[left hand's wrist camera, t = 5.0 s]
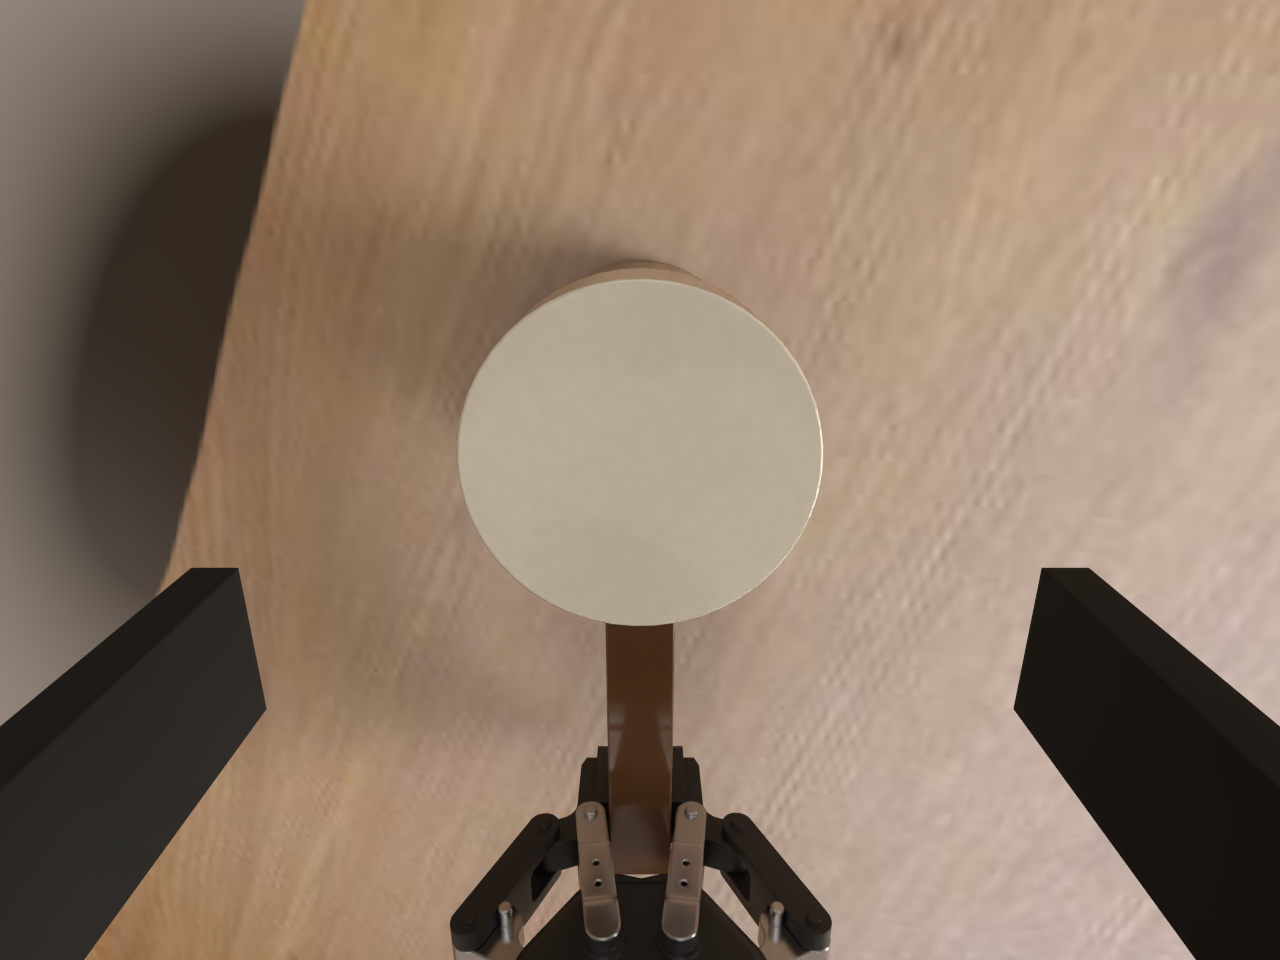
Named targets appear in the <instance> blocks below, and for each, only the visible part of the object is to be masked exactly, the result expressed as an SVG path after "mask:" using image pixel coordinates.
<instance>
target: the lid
mask: <svg viewBox="0 0 1280 960" xmlns="http://www.w3.org/2000/svg"><path fill="white" fill-rule="evenodd" d="M822 466H823V439H822V427H821V422H820V418H819V414H818V409H817V405H816V402H815V399H814V397H813V394H812V391H811V389H810V386H809V384H808V381H807V379H806V378H805V376H804V374H803V372H802V370H801V369H800V367H799V365H798V363H797V361H796V360H795V359H794V357H793V356H792V355H791V353H790V352H789V351H788V349H787V348H786V347H785V345H784V344H783V343H782V341H781V340H780V339H779V338H778V337H777V336H776V335H775V334H774V333H773V332H772V331H771V330H770V329H769V328H768V327H767V326H766V325H765V324H764V323H763V322H762V321H761V320H760V319H759V318H758V317H757V316H756V315H755V314H754V313H753V312H752V311H751V310H750V309H749V308H748V307H747V306H745V305H744V304H743V303H741V302H740V301H739V300H737V299H736V298H735V297H733V296H732V295H730V294H729V293H727V292H725V291H723V290H721V289H720V288H718V287H716V286H714V285H713V284H710V283H708V282H705V281H703V280H700V279H697V278H695V277H692V276H689V275H685V274H681V273H677V272H673V271H668V270H659V269H649V268H636V269H620V270H614V271H608V272H602V273H598V274H595V275H592V276H588V277H585V278H582V279H579V280H577V281H575V282H572V283H570V284H568V285H566V286H564V287H562V288H560V289H558V290H556V291H555V292H553V293H552V294H550V295H549V296H547V297H545V298H544V299H542V300H541V301H539V302H538V303H537V304H536V305H535V306H534V307H532V308H531V309H530V310H529V311H528V312H527V313H525V314H524V315H523V316H522V317H521V318H520V319H519V320H518V321H517V322H516V323H515V324H514V325H513V326H512V328H511V329H510V330H509V331H508V332H507V333H506V334H505V335H504V336H503V337H502V338H501V340H500V341H499V342H498V343H497V344H496V345H495V346H494V348H493V349H492V350H491V351H490V353H489V354H488V356H487V357H486V359H485V360H484V362H483V363H482V365H481V367H480V368H479V370H478V371H477V373H476V376H475V378H474V380H473V382H472V384H471V386H470V388H469V390H468V393H467V396H466V399H465V403H464V406H463V409H462V412H461V416H460V423H459V429H458V435H457V467H458V475H459V483H460V487H461V491H462V495H463V498H464V502H465V505H466V508H467V510H468V513H469V515H470V518H471V520H472V523H473V525H474V527H475V528H476V530H477V532H478V534H479V535H480V537H481V539H482V541H483V542H484V544H485V546H486V547H487V548H488V550H489V551H490V552H491V554H492V555H493V556H494V557H495V559H496V560H497V561H498V563H499V564H500V565H501V566H502V567H503V568H504V569H505V570H506V571H507V572H508V573H509V574H510V575H511V576H512V577H513V578H514V579H515V580H517V581H518V582H519V583H520V584H522V585H523V586H524V587H525V588H527V589H528V590H529V591H530V592H532V593H533V594H535V595H537V596H538V597H540V598H542V599H543V600H545V601H546V602H548V603H550V604H552V605H554V606H556V607H558V608H560V609H563V610H565V611H567V612H569V613H572V614H575V615H578V616H581V617H584V618H587V619H590V620H595V621H600V622H605V623H610V624H617V625H629V626H651V625H662V624H669V623H676V622H681V621H685V620H689V619H692V618H696V617H700V616H702V615H705V614H707V613H710V612H713V611H715V610H718V609H720V608H722V607H724V606H726V605H728V604H730V603H731V602H733V601H735V600H737V599H739V598H740V597H742V596H743V595H745V594H746V593H748V592H749V591H750V590H752V589H753V588H755V587H756V586H758V585H759V584H760V583H761V582H762V581H763V580H764V579H765V578H766V577H768V576H769V575H770V574H771V573H772V572H773V571H774V570H775V569H776V568H777V567H778V566H779V564H780V563H781V562H782V561H783V560H784V559H785V557H786V556H787V555H788V554H789V552H790V551H791V549H792V548H793V546H794V545H795V543H796V542H797V540H798V539H799V537H800V536H801V534H802V532H803V530H804V528H805V526H806V524H807V522H808V520H809V518H810V516H811V513H812V510H813V507H814V504H815V501H816V498H817V495H818V491H819V486H820V481H821V476H822Z"/></svg>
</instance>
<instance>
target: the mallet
mask: <svg viewBox="0 0 1280 960" xmlns="http://www.w3.org/2000/svg"><path fill="white" fill-rule="evenodd" d="M636 268H649V269H659V270H668V271H673V272H677V273H681V274H685V275H689V276H692V277H695V278H697V279H699V278H698V277H696V276H694V275H692V274H690V273H689V272H687V271H685V270H683V269H680V268H677V267H674V266H671V265H668V264H663V263H658V262H650V261H630V262H622V263H617V264H612V265H609V266H606V267H603V268H600V269H597V270H595V271H593V272H591V273H589V274H588V275H586V276H584V277H582V278H585V277H588V276H592V275H595V274H598V273H602V272H608V271H614V270H620V269H636ZM582 278H581V279H582ZM700 280H701V279H700ZM674 632H675V623H669V624H662V625H651V626H629V625H617V624H610V623H606V672H607V726H608V780H609V834H610V844H611V852H612V860H613V868H614V874H668V870H669V862H670V854H671V808H672V749H673V691H674Z"/></svg>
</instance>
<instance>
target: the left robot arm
mask: <svg viewBox="0 0 1280 960" xmlns="http://www.w3.org/2000/svg"><path fill="white" fill-rule="evenodd" d="M265 710H266V704H265V699H264V694H263V689H262V684H261V679H260V674H259V669H258V664H257V659H256V654H255V649H254V644H253V639H252V634H251V629H250V624H249V619H248V614H247V609H246V604H245V599H244V594H243V589H242V584H241V579H240V574H239V569H238V568H191V569H189V570H188V571H187V572H186V573H185V574H183V575H182V576H181V577H180V578H179V579H177V580H176V581H175V582H174V583H172V584H171V585H170V586H169V587H168V588H166V589H165V590H164V591H163V592H162V593H160V594H159V595H158V596H157V597H156V598H154V599H153V600H152V601H151V602H150V603H148V604H147V605H146V606H145V607H144V608H142V609H141V610H140V611H139V612H138V613H136V614H135V615H134V616H133V617H132V618H130V619H129V620H128V621H127V622H126V623H124V624H123V625H122V626H121V627H119V628H118V629H117V630H116V631H115V632H113V633H112V634H111V635H110V636H109V637H107V638H106V639H105V640H104V641H103V642H101V643H100V644H99V645H98V646H97V647H95V648H94V649H93V650H92V651H91V652H89V653H88V654H87V655H86V656H85V657H83V658H82V659H81V660H80V661H79V662H77V663H76V664H75V665H74V666H73V667H71V668H70V669H69V670H68V671H67V672H65V673H64V674H63V675H62V676H60V677H59V678H58V679H57V680H56V681H54V682H53V683H52V684H51V685H50V686H48V687H47V688H46V689H45V690H44V691H42V692H41V693H40V694H39V695H38V696H36V697H35V698H34V699H33V700H32V701H30V702H29V703H28V704H27V705H26V706H24V707H23V708H22V709H21V710H20V711H18V712H17V713H16V714H15V715H14V716H12V717H11V718H10V719H9V720H8V721H6V722H5V723H4V724H3V725H1V726H0V960H84V959H85V958H86V956H87V955H88V954H89V952H90V951H91V949H92V948H93V947H94V945H95V944H96V943H97V941H98V940H99V938H100V937H101V936H102V934H103V933H104V932H105V930H106V929H107V927H108V926H109V925H110V923H111V922H112V921H113V919H114V918H115V916H116V915H117V914H118V912H119V911H120V910H121V908H122V907H123V905H124V904H125V903H126V901H127V900H128V899H129V897H130V896H131V894H132V893H133V892H134V890H135V889H136V888H137V886H138V885H139V883H140V882H141V881H142V879H143V878H144V877H145V875H146V874H147V872H148V871H149V870H150V868H151V867H152V866H153V864H154V863H155V861H156V860H157V859H158V857H159V856H160V855H161V853H162V852H163V850H164V849H165V848H166V846H167V845H168V844H169V842H170V841H171V839H172V838H173V837H174V835H175V834H176V833H177V831H178V830H179V828H180V827H181V826H182V824H183V823H184V822H185V820H186V819H187V817H188V816H189V815H190V813H191V812H192V811H193V809H194V808H195V806H196V805H197V804H198V802H199V801H200V800H201V798H202V797H203V795H204V794H205V793H206V791H207V790H208V789H209V787H210V786H211V784H212V783H213V782H214V780H215V779H216V778H217V776H218V775H219V773H220V772H221V771H222V769H223V768H224V767H225V765H226V764H227V762H228V761H229V760H230V758H231V757H232V756H233V754H234V753H235V751H236V750H237V749H238V747H239V746H240V745H241V743H242V742H243V740H244V739H245V738H246V736H247V735H248V734H249V732H250V731H251V730H252V728H253V727H254V725H255V724H256V723H257V721H258V720H259V719H260V717H261V716H262V714H263V713H264V712H265ZM1014 710H1015V712H1016V713H1017V714H1018V716H1019V717H1020V719H1021V720H1022V721H1023V723H1024V724H1025V725H1026V727H1027V728H1028V730H1029V731H1030V732H1031V734H1032V735H1033V736H1034V738H1035V739H1036V741H1037V742H1038V743H1039V745H1040V746H1041V747H1042V749H1043V750H1044V751H1045V753H1046V754H1047V756H1048V757H1049V758H1050V760H1051V761H1052V762H1053V764H1054V765H1055V767H1056V768H1057V769H1058V771H1059V772H1060V773H1061V775H1062V776H1063V778H1064V779H1065V780H1066V782H1067V783H1068V784H1069V786H1070V787H1071V789H1072V790H1073V791H1074V793H1075V794H1076V795H1077V797H1078V798H1079V800H1080V801H1081V802H1082V804H1083V805H1084V806H1085V808H1086V809H1087V811H1088V812H1089V813H1090V815H1091V816H1092V817H1093V819H1094V820H1095V822H1096V823H1097V824H1098V826H1099V827H1100V828H1101V830H1102V831H1103V833H1104V834H1105V835H1106V837H1107V838H1108V839H1109V841H1110V842H1111V844H1112V845H1113V846H1114V848H1115V849H1116V850H1117V852H1118V853H1119V855H1120V856H1121V857H1122V859H1123V860H1124V861H1125V863H1126V864H1127V866H1128V867H1129V868H1130V870H1131V871H1132V872H1133V874H1134V875H1135V877H1136V878H1137V879H1138V881H1139V882H1140V883H1141V885H1142V886H1143V888H1144V889H1145V890H1146V892H1147V893H1148V894H1149V896H1150V897H1151V899H1152V900H1153V901H1154V903H1155V904H1156V905H1157V907H1158V908H1159V910H1160V911H1161V912H1162V914H1163V915H1164V916H1165V918H1166V919H1167V921H1168V922H1169V923H1170V925H1171V926H1172V927H1173V929H1174V930H1175V932H1176V933H1177V934H1178V936H1179V937H1180V938H1181V940H1182V941H1183V943H1184V944H1185V945H1186V947H1187V948H1188V949H1189V951H1190V952H1191V954H1192V955H1193V956H1194V958H1195V959H1196V960H1280V726H1279V725H1277V724H1276V723H1275V722H1274V721H1273V720H1271V719H1270V718H1269V717H1268V716H1267V715H1265V714H1264V713H1263V712H1262V711H1260V710H1259V709H1258V708H1257V707H1256V706H1254V705H1253V704H1252V703H1251V702H1250V701H1248V700H1247V699H1246V698H1245V697H1244V696H1242V695H1241V694H1240V693H1239V692H1238V691H1236V690H1235V689H1234V688H1233V687H1232V686H1230V685H1229V684H1228V683H1227V682H1226V681H1224V680H1223V679H1222V678H1221V677H1220V676H1218V675H1217V674H1216V673H1215V672H1214V671H1212V670H1211V669H1210V668H1209V667H1207V666H1206V665H1205V664H1204V663H1203V662H1201V661H1200V660H1199V659H1198V658H1197V657H1195V656H1194V655H1193V654H1192V653H1191V652H1189V651H1188V650H1187V649H1186V648H1185V647H1183V646H1182V645H1181V644H1180V643H1179V642H1177V641H1176V640H1175V639H1174V638H1173V637H1171V636H1170V635H1169V634H1168V633H1167V632H1165V631H1164V630H1163V629H1162V628H1161V627H1159V626H1158V625H1157V624H1156V623H1154V622H1153V621H1152V620H1151V619H1150V618H1148V617H1147V616H1146V615H1145V614H1144V613H1142V612H1141V611H1140V610H1139V609H1138V608H1136V607H1135V606H1134V605H1133V604H1132V603H1130V602H1129V601H1128V600H1127V599H1126V598H1124V597H1123V596H1122V595H1121V594H1120V593H1118V592H1117V591H1116V590H1115V589H1114V588H1112V587H1111V586H1110V585H1109V584H1108V583H1106V582H1105V581H1104V580H1103V579H1101V578H1100V577H1099V576H1098V575H1097V574H1095V573H1094V572H1093V571H1092V570H1091V569H1089V568H1042V569H1041V574H1040V579H1039V584H1038V589H1037V594H1036V599H1035V604H1034V609H1033V614H1032V619H1031V624H1030V629H1029V634H1028V639H1027V644H1026V649H1025V654H1024V659H1023V664H1022V669H1021V674H1020V679H1019V684H1018V689H1017V694H1016V699H1015V704H1014Z"/></svg>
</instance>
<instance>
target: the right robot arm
mask: <svg viewBox="0 0 1280 960" xmlns="http://www.w3.org/2000/svg"><path fill="white" fill-rule="evenodd" d="M671 843H672V845H671V854H670V862H669V870H668V874H660V875H655V876H651V877H646V878H636V877H632V876H627V875H623V874H614V868H613V860H612V852H611V844H610V834H609V780H608V746H598V754H597V758H586V760H585V761H584V763H583V764H582V767H581V776H580V786H579V796H578V805H577V808H576V810H575V811H574V812H573V813H572V814H571V815H569V816H567V817H565V818H561V819H558V818H557V817H556V816H554V815H552V814H548V813H543V814H539V815H537V816H535V817H534V818H532V819H531V821H530V822H529V823H528V824H527V825H526V827H525V828H524V829H523V830H522V832H521V833H520V834H519V835H518V836H517V838H516V839H515V840H514V841H513V843H512V844H511V845H510V846H509V847H508V849H507V850H506V851H505V852H504V853H503V855H502V856H501V857H500V858H499V860H498V861H497V862H496V863H495V864H494V866H493V867H492V868H491V869H490V870H489V872H488V873H487V874H486V875H485V877H484V878H483V879H482V880H481V881H480V883H479V884H478V885H477V886H476V888H475V889H474V890H473V891H472V892H471V894H470V895H469V896H468V897H467V898H466V900H465V901H464V902H463V903H462V905H461V906H460V907H459V908H458V909H457V911H456V912H455V913H454V914H453V916H452V918H451V921H450V928H451V937H452V946H453V954H454V960H828V958H829V949H830V934H831V926H832V921H831V917H830V915H829V914H828V913H827V911H826V910H825V909H824V908H823V907H822V905H821V904H820V903H819V902H818V900H817V899H816V898H815V897H814V896H813V894H812V893H811V892H810V891H809V890H808V888H807V887H806V886H805V885H804V884H803V882H802V881H801V880H800V879H799V877H798V876H797V875H796V874H795V873H794V871H793V870H792V869H791V868H790V867H789V865H788V864H787V863H786V862H785V861H784V859H783V858H782V857H781V856H780V854H779V853H778V852H777V851H776V850H775V848H774V847H773V846H772V845H771V844H770V842H769V841H768V840H767V839H766V837H765V836H764V835H763V834H762V833H761V831H760V830H759V829H758V828H757V827H756V825H755V824H754V823H753V822H752V821H751V819H750V818H749V817H747V816H746V815H744V814H741V813H731V814H728V815H726V816H725V817H724V819H720V818H716V817H714V816H712V815H710V814H709V813H707V812H706V809H705V808H704V806H703V801H702V791H701V782H700V771H699V765H698V763H697V762H696V760H695V759H694V758H683V748H682V746H673V749H672V808H671ZM577 865H578V878H579V891H577V892H576V893H575V895H574V896H573V897H572V898H571V899H570V900H569V901H568V902H567V903H566V904H565V905H564V906H563V907H562V908H561V909H560V910H559V911H558V912H557V914H556V915H555V916H554V917H553V918H552V919H551V920H550V921H549V922H548V923H547V924H546V925H545V926H544V927H543V928H542V929H541V930H540V931H539V933H538V934H537V935H536V936H535V937H534V938H533V939H532V940H531V941H530V942H529V943H528V944H527V945H526V946H525V947H524V948H523V947H522V946H523V944H524V940H525V939H524V926H525V924H526V923H527V921H528V920H529V919H530V917H531V916H532V914H533V913H534V912H535V910H536V909H537V907H538V906H539V905H540V903H541V902H542V900H543V899H544V898H545V896H546V895H547V893H548V892H549V891H550V889H551V888H552V886H553V885H554V884H555V882H556V881H557V879H558V878H559V876H560V875H561V871H562V870H563V869H567V868H570V867H574V866H577ZM704 866H707V867H711V868H714V869H718V870H720V872H721V875H722V876H723V878H724V879H725V881H726V882H727V883H728V885H729V886H730V888H731V889H732V890H733V892H734V893H735V895H736V896H737V897H738V899H739V900H740V902H741V903H742V904H743V906H744V907H745V909H746V910H747V911H748V913H749V914H750V916H751V917H752V918H753V920H754V921H755V923H756V924H757V925H758V927H759V929H758V943H759V946H760V947H759V948H758V947H757V946H756V945H755V944H754V943H753V942H752V941H751V939H750V938H749V937H748V936H747V935H746V934H745V933H744V932H743V931H742V930H741V929H740V928H739V927H738V926H737V925H736V924H735V923H734V922H733V921H732V920H731V918H730V917H729V916H728V915H727V914H726V913H725V912H724V911H723V910H722V909H721V908H720V907H719V906H718V905H717V904H716V903H715V902H714V901H713V900H712V898H711V897H710V896H709V895H708V894H707V893H706V892H705V891H704V890H703V879H704Z"/></svg>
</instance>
